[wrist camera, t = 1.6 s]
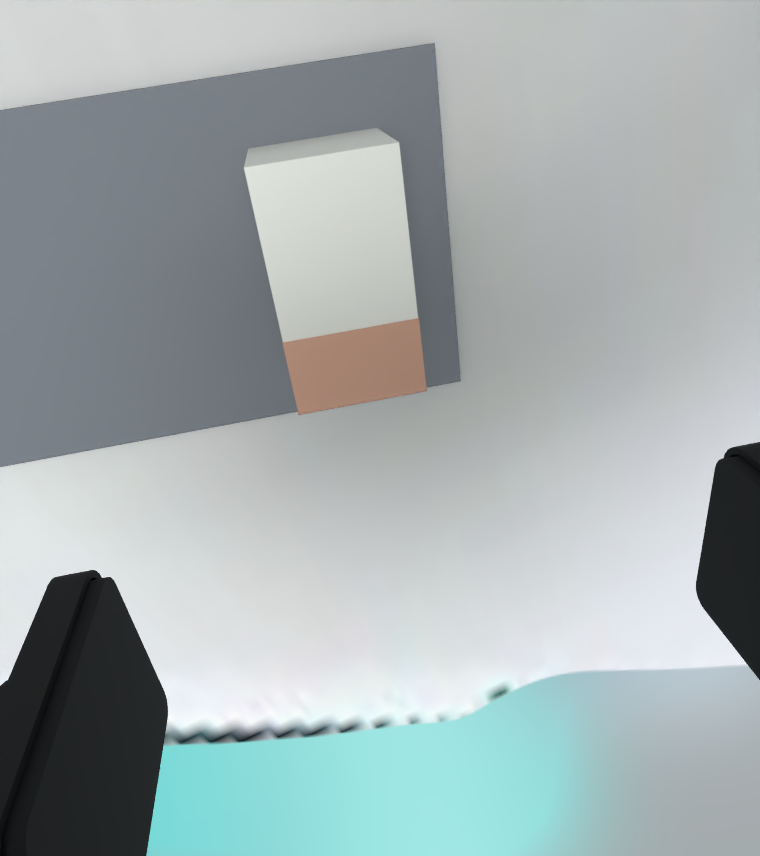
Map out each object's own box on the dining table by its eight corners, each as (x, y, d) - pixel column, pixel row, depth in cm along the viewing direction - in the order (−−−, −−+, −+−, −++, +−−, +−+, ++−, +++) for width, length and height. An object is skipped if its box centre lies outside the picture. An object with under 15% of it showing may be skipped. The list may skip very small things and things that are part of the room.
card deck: (377, 127, 25) (400, 142, 21) (403, 342, 30) (426, 390, 25) (247, 148, 25) (243, 168, 21) (294, 362, 29) (298, 414, 25)
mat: (432, 43, 24) (434, 43, 24) (458, 377, 31) (460, 381, 31) (-235, 146, 23) (-242, 147, 23) (-50, 472, 30) (-54, 476, 30)
